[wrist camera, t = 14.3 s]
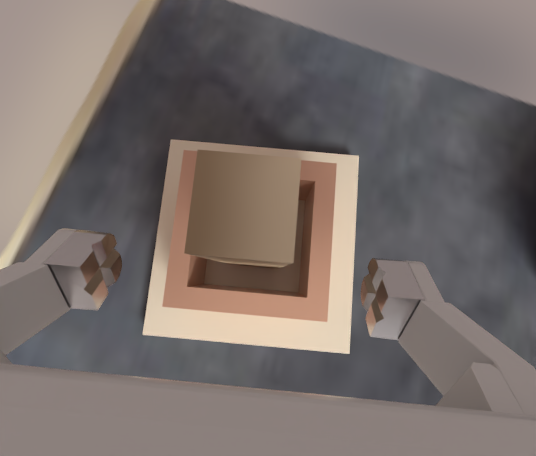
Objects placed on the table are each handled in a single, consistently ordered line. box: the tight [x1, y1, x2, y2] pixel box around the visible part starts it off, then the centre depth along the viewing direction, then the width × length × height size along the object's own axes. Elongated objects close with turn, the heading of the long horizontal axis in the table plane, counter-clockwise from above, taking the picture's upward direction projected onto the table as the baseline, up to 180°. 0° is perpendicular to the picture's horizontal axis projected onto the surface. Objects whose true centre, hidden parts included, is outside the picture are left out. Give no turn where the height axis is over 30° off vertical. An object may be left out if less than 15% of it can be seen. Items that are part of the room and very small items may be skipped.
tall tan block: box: [184, 150, 301, 268], centre depth 13 cm, size 3×3×10 cm
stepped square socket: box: [143, 139, 359, 354], centre depth 17 cm, size 12×12×5 cm
